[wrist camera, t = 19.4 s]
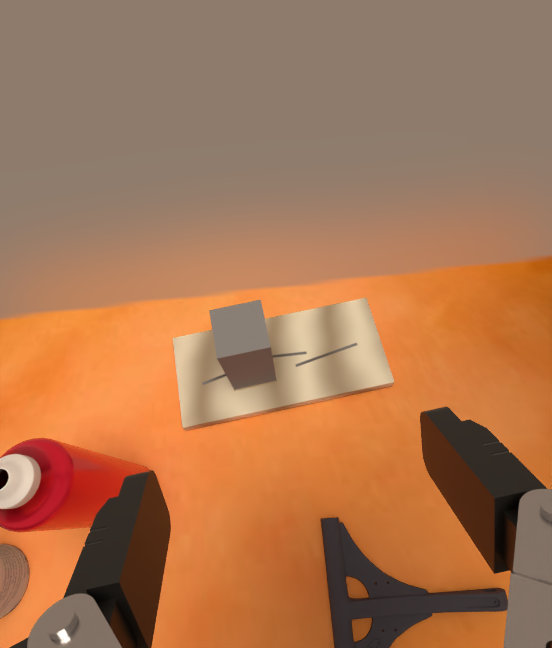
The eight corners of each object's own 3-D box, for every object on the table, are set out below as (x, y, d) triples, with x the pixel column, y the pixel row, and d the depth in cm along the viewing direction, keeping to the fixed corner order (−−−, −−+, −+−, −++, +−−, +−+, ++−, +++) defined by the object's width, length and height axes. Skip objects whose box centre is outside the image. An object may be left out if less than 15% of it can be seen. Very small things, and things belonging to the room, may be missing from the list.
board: (364, 303, 48) (366, 297, 47) (391, 386, 44) (394, 382, 43) (176, 343, 48) (172, 338, 46) (186, 430, 44) (182, 427, 42)
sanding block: (268, 341, 46) (260, 299, 36) (277, 381, 44) (271, 347, 35) (227, 350, 45) (208, 310, 36) (234, 391, 43) (216, 359, 34)
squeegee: (525, 699, 34) (543, 714, 31) (341, 713, 34) (344, 728, 32) (476, 506, 40) (488, 505, 37) (320, 518, 40) (321, 518, 38)
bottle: (124, 455, 43) (-7, 414, 25) (169, 479, 42) (67, 454, 23) (93, 508, 41) (-73, 505, 23) (140, 535, 40) (4, 554, 22)
